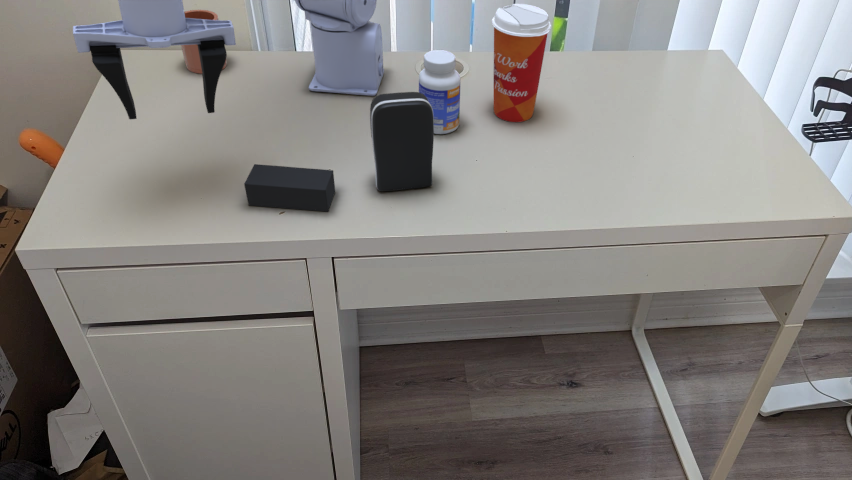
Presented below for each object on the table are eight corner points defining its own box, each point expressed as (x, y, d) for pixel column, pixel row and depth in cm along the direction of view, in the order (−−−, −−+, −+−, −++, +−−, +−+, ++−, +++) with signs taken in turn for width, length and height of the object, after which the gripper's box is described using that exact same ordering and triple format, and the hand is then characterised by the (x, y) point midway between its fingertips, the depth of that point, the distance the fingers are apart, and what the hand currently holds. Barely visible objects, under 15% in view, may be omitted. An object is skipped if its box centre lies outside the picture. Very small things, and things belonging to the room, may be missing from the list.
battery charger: (428, 170, 89) (428, 85, 82) (434, 187, 87) (435, 101, 79) (371, 176, 88) (366, 89, 80) (376, 194, 85) (371, 106, 77)
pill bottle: (453, 138, 95) (455, 69, 89) (413, 131, 96) (413, 62, 89) (463, 118, 99) (466, 51, 93) (425, 111, 100) (425, 44, 93)
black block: (335, 191, 85) (333, 170, 83) (328, 211, 82) (325, 190, 80) (258, 185, 84) (254, 163, 82) (248, 205, 82) (243, 183, 80)
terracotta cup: (232, 58, 107) (223, 11, 103) (220, 75, 103) (210, 27, 98) (194, 54, 107) (183, 8, 102) (180, 72, 103) (168, 24, 98)
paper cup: (474, 108, 101) (479, 9, 92) (514, 93, 106) (523, -3, 96) (512, 132, 97) (522, 31, 88) (552, 115, 102) (565, 18, 92)
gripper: (59, -5, 64) (96, 135, 72) (232, -8, 69) (248, 122, 77) (60, -29, 68) (95, 105, 77) (222, -31, 74) (238, 94, 82)
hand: (172, 112), depth 77 cm, fingers open, 7 cm apart
